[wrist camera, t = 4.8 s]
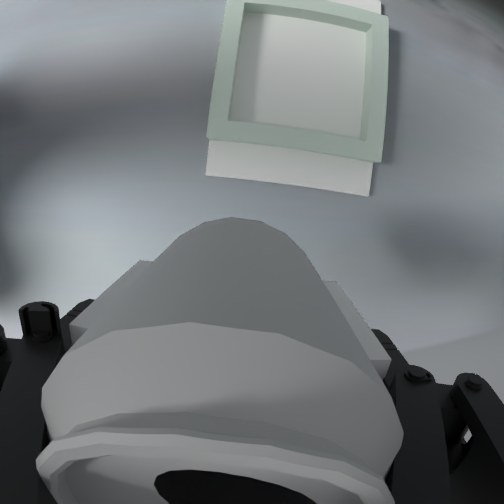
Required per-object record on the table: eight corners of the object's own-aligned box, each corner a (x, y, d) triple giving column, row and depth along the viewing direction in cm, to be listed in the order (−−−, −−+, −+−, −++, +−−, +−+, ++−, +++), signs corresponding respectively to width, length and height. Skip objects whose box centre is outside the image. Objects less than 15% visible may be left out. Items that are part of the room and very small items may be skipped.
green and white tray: (206, 175, 26) (201, 175, 24) (235, -21, 22) (233, -35, 19) (366, 196, 27) (376, 198, 24) (378, 3, 22) (387, -7, 19)
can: (346, 274, 15) (501, 477, 3) (254, 382, 16) (259, 599, 5) (212, 181, 14) (35, 240, 2) (132, 309, 15) (-2, 502, 4)
